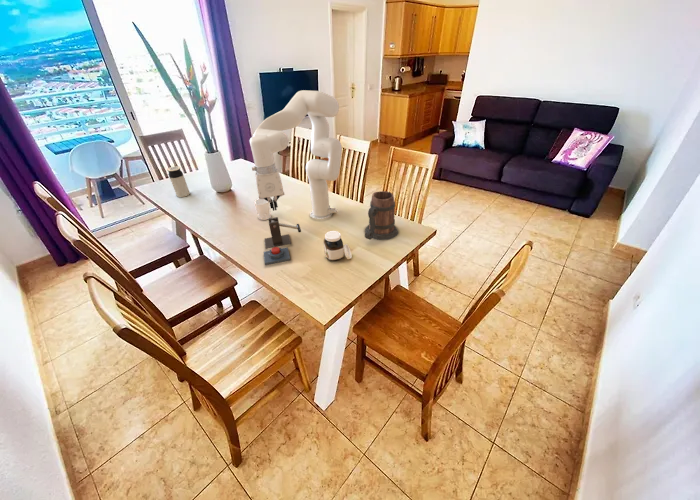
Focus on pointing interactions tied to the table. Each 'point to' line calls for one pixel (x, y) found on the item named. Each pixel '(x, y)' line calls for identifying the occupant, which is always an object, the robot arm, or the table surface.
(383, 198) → the tankard
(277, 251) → the red push button
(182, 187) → the travel mug
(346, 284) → the table surface
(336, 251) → the spread jar
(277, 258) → the button box
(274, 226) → the bracket
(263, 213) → the white cup
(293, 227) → the tap lever
